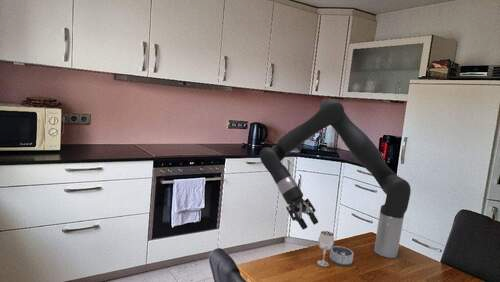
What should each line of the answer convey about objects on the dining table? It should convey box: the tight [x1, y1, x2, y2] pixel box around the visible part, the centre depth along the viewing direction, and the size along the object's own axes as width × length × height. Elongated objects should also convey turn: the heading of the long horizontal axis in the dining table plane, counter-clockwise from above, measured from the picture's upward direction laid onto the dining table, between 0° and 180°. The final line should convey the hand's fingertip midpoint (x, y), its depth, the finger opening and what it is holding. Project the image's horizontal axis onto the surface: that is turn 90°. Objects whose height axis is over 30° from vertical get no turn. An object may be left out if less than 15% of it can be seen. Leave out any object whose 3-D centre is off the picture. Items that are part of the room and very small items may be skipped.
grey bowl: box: [329, 245, 355, 267], centre depth 132 cm, size 9×9×4 cm
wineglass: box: [316, 230, 335, 267], centre depth 128 cm, size 6×6×12 cm
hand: (311, 226), depth 132 cm, fingers open, 8 cm apart
